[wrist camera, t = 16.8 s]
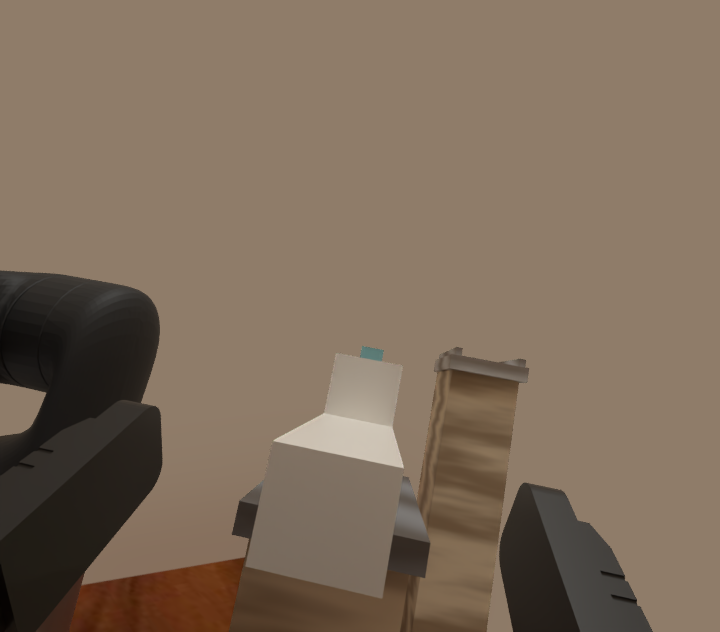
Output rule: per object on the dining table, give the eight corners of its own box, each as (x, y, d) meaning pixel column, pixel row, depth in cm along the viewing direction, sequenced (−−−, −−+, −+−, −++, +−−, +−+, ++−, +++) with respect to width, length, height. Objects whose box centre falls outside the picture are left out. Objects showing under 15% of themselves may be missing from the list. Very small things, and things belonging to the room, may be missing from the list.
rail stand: (487, 739, 37) (534, 361, 42) (389, 715, 38) (448, 345, 43) (458, 648, 50) (498, 366, 55) (386, 631, 51) (431, 354, 56)
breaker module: (382, 598, 13) (428, 321, 14) (245, 566, 13) (303, 298, 15) (380, 466, 34) (399, 358, 35) (327, 454, 34) (348, 348, 35)
